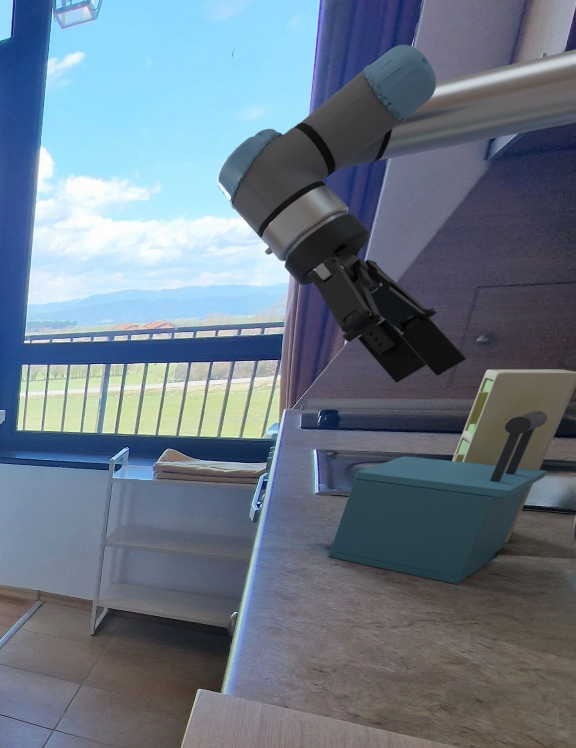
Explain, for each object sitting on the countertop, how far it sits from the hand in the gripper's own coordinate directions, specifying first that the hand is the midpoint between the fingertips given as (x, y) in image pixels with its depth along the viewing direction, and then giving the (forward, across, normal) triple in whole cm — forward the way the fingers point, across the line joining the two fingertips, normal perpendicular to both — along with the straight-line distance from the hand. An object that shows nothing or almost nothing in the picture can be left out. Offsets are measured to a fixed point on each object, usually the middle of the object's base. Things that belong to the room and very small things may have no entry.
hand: (432, 370), depth 72 cm
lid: (+12, 0, -5) cm, 13 cm away
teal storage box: (+18, 0, -12) cm, 22 cm away
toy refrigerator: (+19, -14, -12) cm, 27 cm away
